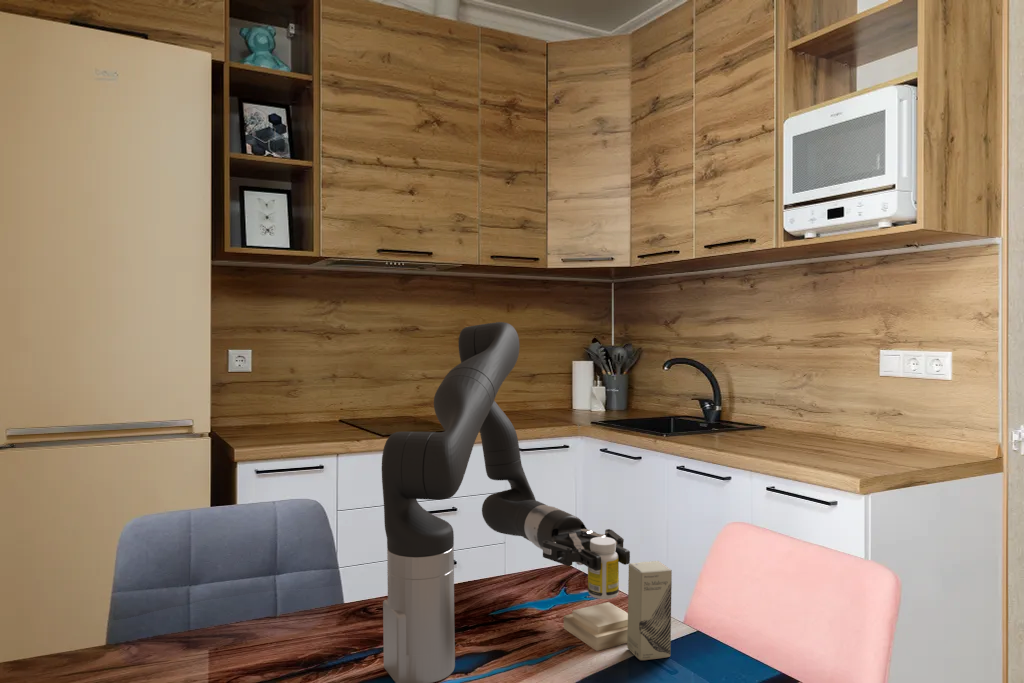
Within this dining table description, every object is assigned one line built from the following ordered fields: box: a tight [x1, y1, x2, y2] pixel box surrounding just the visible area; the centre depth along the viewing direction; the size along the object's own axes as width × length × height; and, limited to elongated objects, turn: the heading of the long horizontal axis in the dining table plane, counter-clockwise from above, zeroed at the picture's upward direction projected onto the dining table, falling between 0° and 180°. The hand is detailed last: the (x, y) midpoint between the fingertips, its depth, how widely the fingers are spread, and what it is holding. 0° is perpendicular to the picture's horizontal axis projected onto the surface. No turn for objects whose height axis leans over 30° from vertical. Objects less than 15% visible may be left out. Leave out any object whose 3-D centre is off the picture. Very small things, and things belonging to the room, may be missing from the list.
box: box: [626, 560, 673, 661], centre depth 104 cm, size 5×4×13 cm
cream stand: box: [563, 601, 628, 652], centre depth 110 cm, size 9×9×3 cm
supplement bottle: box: [587, 537, 620, 600], centre depth 110 cm, size 5×5×8 cm
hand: (613, 560), depth 108 cm, fingers closed on supplement bottle, 4 cm apart
